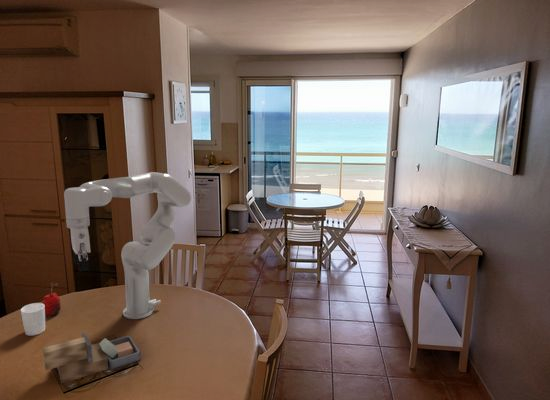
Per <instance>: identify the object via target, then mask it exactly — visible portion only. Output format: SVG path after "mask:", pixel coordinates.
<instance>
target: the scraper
mask: <svg viewBox="0 0 550 400" xmlns="http://www.w3.org/2000/svg"><path fill="white" fill-rule="evenodd" d="M81 333H82V334H81V336H82V337H79V338H75V339H72V340H68V341H63V342H60V343H57V344H52V345H49V346H46V347H42V353H43V361H44V368H45V371H48V370H51V369H54V368H57V367H59V366H62V365H65V364H69V363H72V362H76V361H79V360H82V359H86V358H87V359H88V362H91V361H93V359H92V346H91V345H92V343H91V339H89V335H88V334H87V332H81Z"/></svg>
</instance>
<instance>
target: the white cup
mask: <svg viewBox="0 0 550 400" xmlns="http://www.w3.org/2000/svg"><path fill="white" fill-rule="evenodd" d="M20 313H21V318H22V319H21V320H22V324H23V328H24V333H25V335H26V336H29V337H30V336H37V335H40V334H42V333H43V332H45V330H46V316H45V305H44V304H42V302H34V303H29V304H26V305H24V306H22V308H20Z"/></svg>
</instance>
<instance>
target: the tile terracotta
mask: <svg viewBox="0 0 550 400" xmlns="http://www.w3.org/2000/svg"><path fill="white" fill-rule="evenodd" d="M115 347H116V349H117V350H118V353H117V354H116V355H117V357H118V358H121V357H124V356H127V355H130V354H133V348H132V346H131V344H130V343H129V342H125V343H122V344H118V345H115Z"/></svg>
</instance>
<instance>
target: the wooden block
mask: <svg viewBox="0 0 550 400" xmlns="http://www.w3.org/2000/svg"><path fill="white" fill-rule="evenodd" d="M99 343H100V342H98V343H94V344H91V346H92V359H93V361H91V362H88V359H87V358H86V359H82V360H79V361H76V362H72V363H69V364H65V365H62V366H59V367H56V368H57V371H58V375H59V379H60V383H61V384H65V383H67V382H71V381H74V380H78V379H80V378H83V377H87V376H89V375H93V374H96V373H100V372H102V371H103V372H104V371H106V370H109V365H108V358H107V356H106V354H105V352H104V351H102V348H101V346H100V344H99Z"/></svg>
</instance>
